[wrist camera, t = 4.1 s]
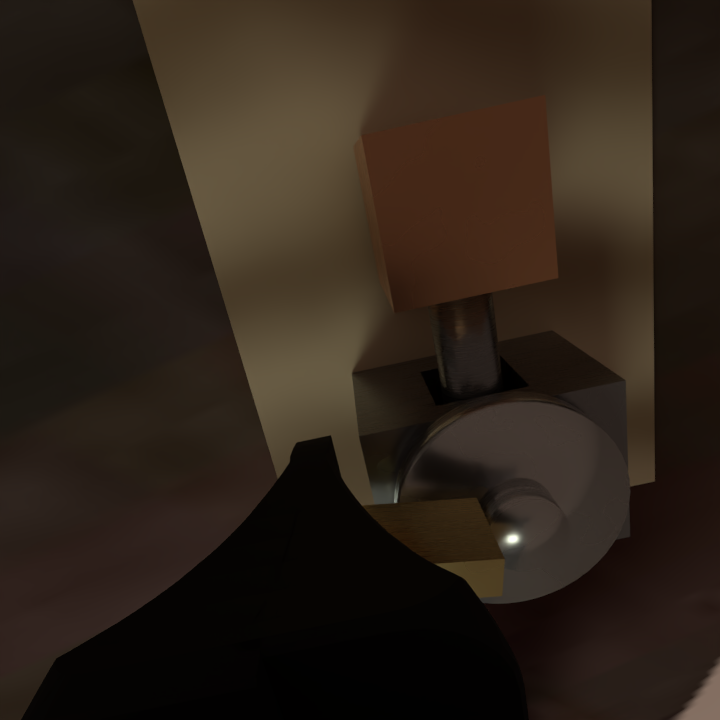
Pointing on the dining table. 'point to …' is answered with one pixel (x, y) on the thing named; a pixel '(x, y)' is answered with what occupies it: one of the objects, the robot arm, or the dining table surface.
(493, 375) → the brown blocky piece
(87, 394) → the dining table surface
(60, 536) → the dining table surface
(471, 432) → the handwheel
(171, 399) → the dining table surface
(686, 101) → the dining table surface
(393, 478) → the eye block
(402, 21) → the oak board
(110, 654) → the robot arm
